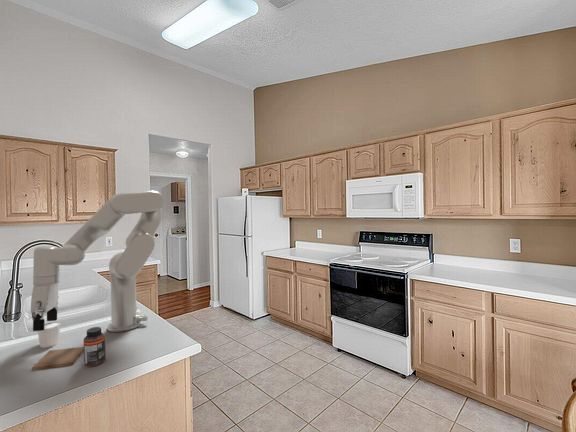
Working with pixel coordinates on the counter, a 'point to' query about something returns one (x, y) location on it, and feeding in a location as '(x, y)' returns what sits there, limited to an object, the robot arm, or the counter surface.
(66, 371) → the counter surface
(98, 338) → the supplement bottle
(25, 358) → the counter surface
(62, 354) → the coaster
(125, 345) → the counter surface
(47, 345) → the white cup
